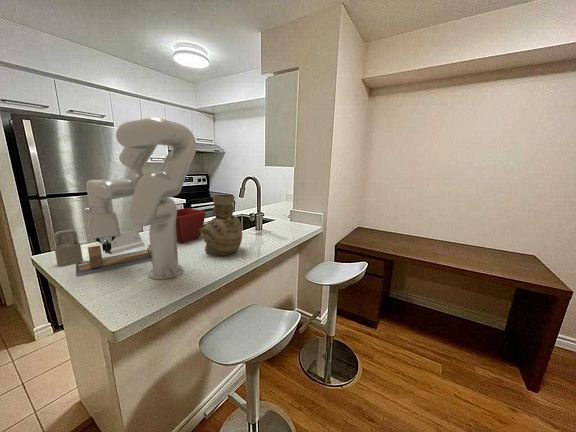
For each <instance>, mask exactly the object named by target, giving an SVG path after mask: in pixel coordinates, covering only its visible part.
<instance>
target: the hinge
mask: <svg viewBox="0 0 576 432" xmlns="http://www.w3.org/2000/svg"><path fill="white" fill-rule="evenodd" d="M120 235H121V236H120V237H118V238H115V239H114V240H113V241H112V242H111V248H112V250H110V252H108V251H107V253H111V255H114V254H118V253H122V252H126V251H130V250H133V249H137V248H141V247H144V246H145V242H144V241H143V240H142V237H141V235H140V233H139V231H135V230H134V231H132V230H130V231H120ZM107 240H108V237H106V239H104V241H105V243H107ZM106 245H107V244H106ZM107 253H106V254H107Z"/></svg>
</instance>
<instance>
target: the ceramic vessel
mask: <svg viewBox="0 0 576 432" xmlns="http://www.w3.org/2000/svg"><path fill="white" fill-rule="evenodd" d="M234 200H235V195H233V194H213V195H212V202H213V205H214V207H213V211H212V216H214V218H212V219H211V220H209V221H208V222H207V223H206V225H205V226H203V227H202V228H200V229H199V232H200V237H199V238H200V239H204V242H205V246H204V247H205V248H204V251H205V253H206V254H208V255H210V256H214V257H218V258H224V257H225V258H226V257H230V256H234V255H235V254H236V253H238V251H239V249H240V247H241V244H242V240H243V227H242V223H241V220H240V219H239V218H238V217H236V216H235V215H234V214H233V213H234V209H235V207H234V205H233V204H234Z"/></svg>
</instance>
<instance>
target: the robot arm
mask: <svg viewBox="0 0 576 432" xmlns="http://www.w3.org/2000/svg"><path fill="white" fill-rule="evenodd" d="M115 132H116V134H115V138H116V141H117V143H118V144H119V145H120V146H121V147H123V149H122V150H121V153H120V154H119V156H118V159H119V161H120V163H121V164H122V165H124V167H126V168H128V169H129V171H128V173H127V175H126V177H125V178H124V179H123V178H122V179H110V180H109V179H108V180H107V179H89V180H87V181H86V183H85V184H86V186H85V187H86V191H87V199H88V205H89V207H87V208H86V207H85V208H84V210H85V212H87V213H88V217H87V227H88V234H89V237H88V240H89V242H90V241H91V242H97V243H100V244H101V246H102V247H101V249H102V252H104V253H105V254H107V251H108V253H111V252H110V250H112V248H111V242H112V241H113V240H114V239H115V238H118V237H120V236H121V235H120V232H121V231H120V224H119V219H118V216H117V215H118V214H117V212H116V211H114V209H113V200H117V199H119V200H120V199H122V198H123V199H124V198H130V197H132V199H131V203H130V206H129V212H128V214H129V217H130V220H131V221H132V223H133V224H134V225H135V226H138V227H148V226H149V231H148V232H149V245H150V247H151V257H152V261H151V266H152V269H151V270H149V271H148V277H149V278H150V279H153V280H166V279H172V278H174V277H177V276H179V275H181V274H182V273H183V271H184V267H183V266H182V265H180V263H179V253H178V242H177V238H176V216H177V209H178V207H177V204H176V202H175V200H173V199H172V197H175V196H178V195H179V194H180V193H181V190H182V188H183V185H184V183H185V180H186V178H187V175H188V172H189V169H190V166H191V164H192V163H193V160H194V156H195V154H196V152H197V141H196V138H195V136H194V133H193V132H192V131H191V130H190V129H189V128H188V127H187V126H185V125H183V124H182V123H179V122H176V121H172V120H169V119H168V120H167V119H165V118H160V117H152V116H151V117H146V118H140V119H135V120H130V121H126V122H123V123H121V124H120V125H119V126H118V128H117V129H116V131H115ZM158 145H161V146H167V147H172V149H171V150H170V152H169V153H168V154H166V156H165V159H164V161H163V164H162V166H161V169H160V170H159V171H151V172H147V173H145V169H144V168H145V166H146V165H147V162H148V161H149V160H150V157H152V155H153V153H154V151H156V148H157V147H158ZM104 238H108V240H107V243H105V239H104ZM106 244H107V245H106Z"/></svg>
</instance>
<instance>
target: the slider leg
mask: <svg viewBox="0 0 576 432" xmlns="http://www.w3.org/2000/svg"><path fill="white" fill-rule="evenodd" d="M87 250H88V251H87V252H88V259H89V260H90V265H91V268H96V267H101V266H103V261H102V258H103V256H102V247H101V245H100V244H99V245H94V246H88V247H87Z"/></svg>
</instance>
